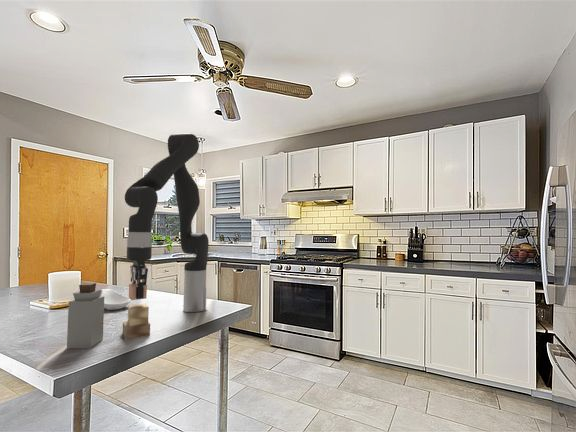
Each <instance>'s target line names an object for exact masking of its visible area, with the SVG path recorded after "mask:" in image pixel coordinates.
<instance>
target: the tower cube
mask: <svg viewBox="0 0 576 432" xmlns="http://www.w3.org/2000/svg"><path fill="white" fill-rule="evenodd" d="M127 307H128V308H127V321H128V324H129V326H136V325H143V324H148V322H149V313H150V312H149V311H150V310H149V305H148V304H147V303H138V304H137V303H136V304H128V305H127Z"/></svg>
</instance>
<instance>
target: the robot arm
mask: <svg viewBox="0 0 576 432" xmlns="http://www.w3.org/2000/svg"><path fill="white" fill-rule="evenodd" d="M199 148H200V143H199V139H198V137H197V135H195V134H194V133H190V132H189V133H188V132H186V133H185V132H183V133H173V134H170V135H169V137H168V139H167V151H168V156H166V157H164V158H163V159H161V160H160V161H157V163H155V164H154V165H153V166H152V167H151V168H150V170H148V172H147V173H145V175H144V176H143V177H141V178H140V179H139V180H137V181H136V182H134V183H133V184H132V185H130V186H129V187H128V188H127V189H126V191H125V193H124V202H125V203H126V205H127V206H129V207H130V208H138V210H137V211H136V213H135V214H132V215H130V216H129V218H128V231H127V233H128V234H127V238H126V260H127V261H132V264H130V266H129V268H130V283H131V284H136V299H138V300H142V299H141V298H143V295H144V286H146V285H147V282H148V281H147V280H148V271H149V269H148V267H147V265H146V261H151V259H152V254H153V253H152V251H153V250H152V248H153V247H152V246H153V244H152V243H153V236H152V227H153V226H152V224H153V222H152V221H153V218H154V216H155V213H156V212H155V211H156V209H157V205H158V199H159V198H158V193H157V192H158V191H161V190H162V189H163V188H164V187H165V185H166V184H167V183H168V182H169V181H170V179H171V178H172V176H173V179H174V185H175V186H174V187H175V196H176V204H177V210H178V216H179V217H178V218H179V236H180V237H179V240H180V241H179V242H180V248H181V251H182V252H183V253H184V254H186V255H195V258H194V259H193V260H191V261H188V262H185V263H184V270H183V271H184V272H183V275H184V277H183V305H182V307H183V309H182V310H183V312H186V313H200V312H202V311H206V310H207V266H208V259H209V256H208V255H209V246H210V244H209V243H210V242H209V237H208V235H207V234H206V233H204V232H193V231H192V224H193V219H194V217H195V215H196V213H197V211H198V209H199V207H200V203H201V201H200V200H201V199H200V191H199V187H198V184H197V183H196V181H195V179H194V178H193V177H192V175H191V174H190V173H189V170H188V168H187V167H186V163H187V162H188V161H190V160H191V159H192V158H193V157H194V156H195V155H196V154H197V153H198V152H199Z"/></svg>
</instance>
